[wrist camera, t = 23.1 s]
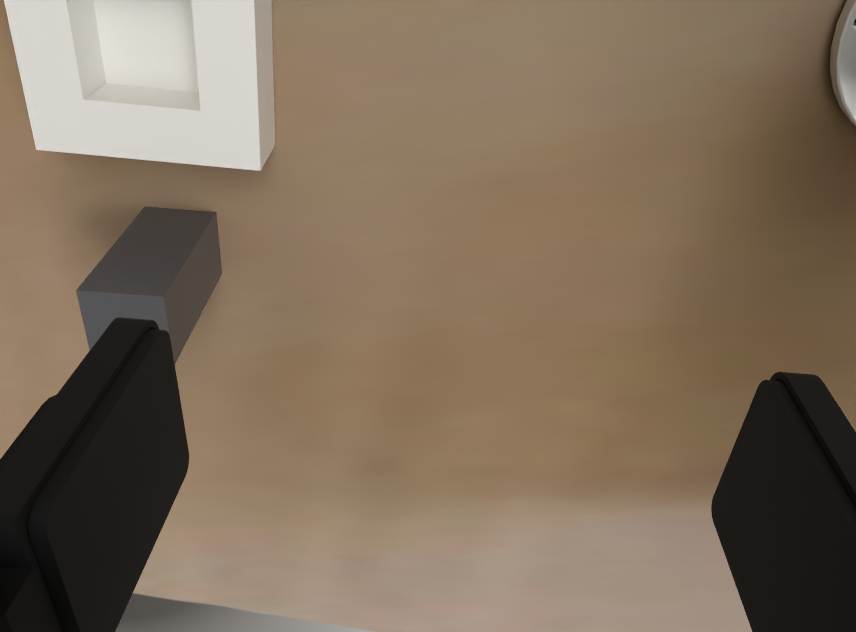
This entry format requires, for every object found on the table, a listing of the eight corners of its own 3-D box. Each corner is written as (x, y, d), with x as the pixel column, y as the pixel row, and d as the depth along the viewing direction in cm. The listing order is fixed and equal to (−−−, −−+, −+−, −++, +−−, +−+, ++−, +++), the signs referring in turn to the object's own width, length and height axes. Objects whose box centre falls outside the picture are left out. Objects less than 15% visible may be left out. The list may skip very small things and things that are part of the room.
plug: (216, 212, 45) (163, 296, 37) (221, 273, 47) (173, 365, 39) (145, 206, 45) (76, 290, 36) (154, 268, 47) (92, 359, 39)
